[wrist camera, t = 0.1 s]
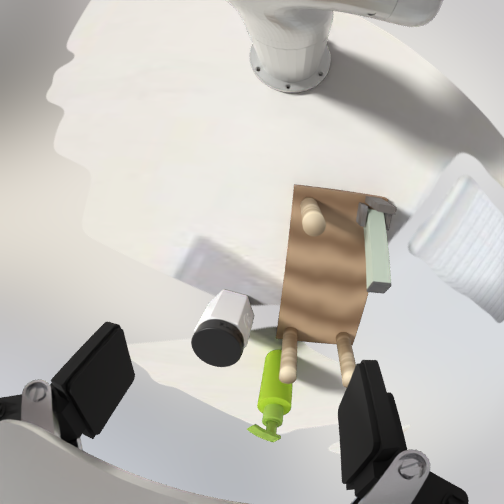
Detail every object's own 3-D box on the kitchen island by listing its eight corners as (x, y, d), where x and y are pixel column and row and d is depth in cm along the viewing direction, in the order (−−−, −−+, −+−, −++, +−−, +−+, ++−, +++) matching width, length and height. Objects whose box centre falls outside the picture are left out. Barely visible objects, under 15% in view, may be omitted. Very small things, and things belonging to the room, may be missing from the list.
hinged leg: (362, 216, 41) (367, 206, 39) (377, 218, 40) (382, 208, 38) (366, 291, 35) (373, 284, 33) (383, 293, 34) (391, 285, 32)
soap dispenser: (273, 342, 54) (260, 422, 35) (299, 358, 54) (296, 438, 36) (255, 358, 56) (239, 435, 37) (281, 373, 56) (273, 450, 38)
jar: (259, 324, 53) (249, 366, 41) (220, 330, 55) (203, 371, 43) (244, 284, 50) (230, 321, 39) (204, 292, 52) (181, 329, 41)
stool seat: (294, 184, 43) (294, 198, 30) (384, 197, 41) (418, 216, 28) (276, 332, 53) (269, 384, 40) (351, 339, 51) (362, 390, 38)
